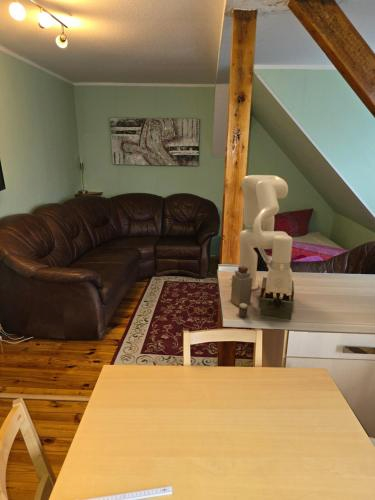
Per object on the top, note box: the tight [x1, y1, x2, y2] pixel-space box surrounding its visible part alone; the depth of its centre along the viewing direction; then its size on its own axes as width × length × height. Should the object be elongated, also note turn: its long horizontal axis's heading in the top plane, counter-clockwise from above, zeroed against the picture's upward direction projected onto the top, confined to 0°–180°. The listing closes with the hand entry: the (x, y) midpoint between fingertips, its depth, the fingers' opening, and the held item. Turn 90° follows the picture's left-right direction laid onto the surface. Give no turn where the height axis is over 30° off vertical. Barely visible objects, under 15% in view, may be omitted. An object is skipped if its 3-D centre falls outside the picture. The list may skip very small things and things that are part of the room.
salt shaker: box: [238, 303, 248, 319], centre depth 147 cm, size 4×4×6 cm
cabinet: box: [259, 276, 295, 307], centre depth 160 cm, size 15×15×10 cm
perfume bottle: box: [230, 266, 253, 307], centre depth 159 cm, size 7×7×18 cm
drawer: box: [259, 290, 294, 321], centre depth 148 cm, size 18×13×8 cm
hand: (277, 306), depth 140 cm, fingers closed
